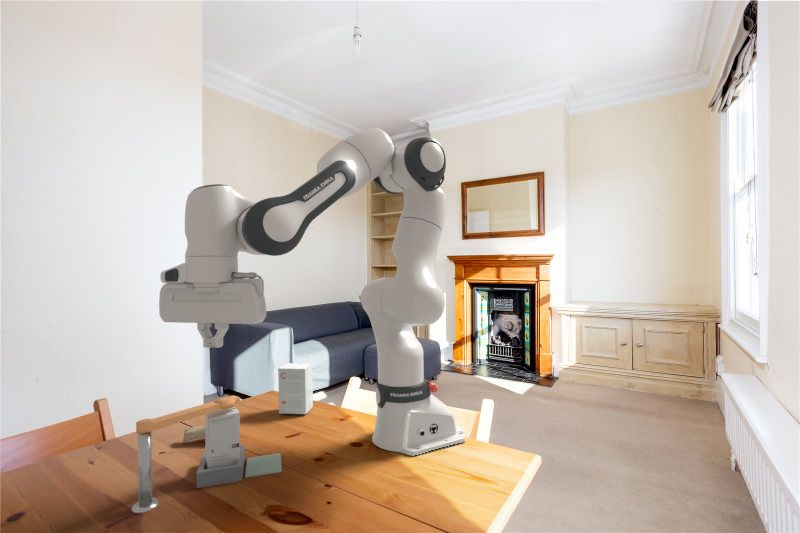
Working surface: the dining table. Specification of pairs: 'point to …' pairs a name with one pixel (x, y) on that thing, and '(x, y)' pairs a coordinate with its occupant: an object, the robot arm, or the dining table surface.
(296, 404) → the small box
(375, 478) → the dining table surface
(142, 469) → the post
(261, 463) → the mat
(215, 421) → the skincare box
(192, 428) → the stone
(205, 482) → the grey slotted base
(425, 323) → the robot arm
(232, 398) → the wooden board
